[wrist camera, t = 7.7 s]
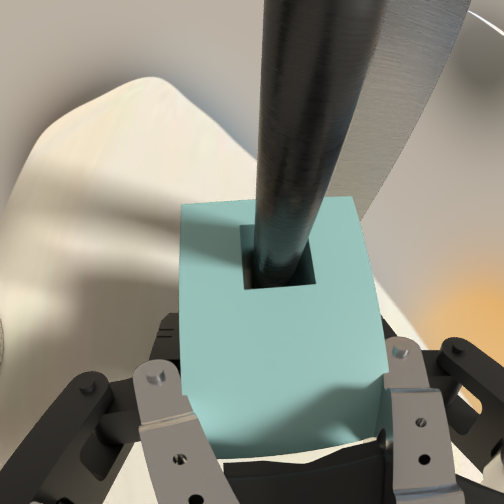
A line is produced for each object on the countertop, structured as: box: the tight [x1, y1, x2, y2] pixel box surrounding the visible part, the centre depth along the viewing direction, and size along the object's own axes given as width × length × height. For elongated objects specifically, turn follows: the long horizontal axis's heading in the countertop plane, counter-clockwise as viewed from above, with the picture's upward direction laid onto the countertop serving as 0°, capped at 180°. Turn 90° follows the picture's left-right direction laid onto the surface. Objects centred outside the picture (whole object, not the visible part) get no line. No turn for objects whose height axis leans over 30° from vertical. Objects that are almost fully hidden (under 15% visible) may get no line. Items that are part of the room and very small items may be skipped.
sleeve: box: [179, 196, 389, 459], centre depth 11 cm, size 7×5×8 cm
